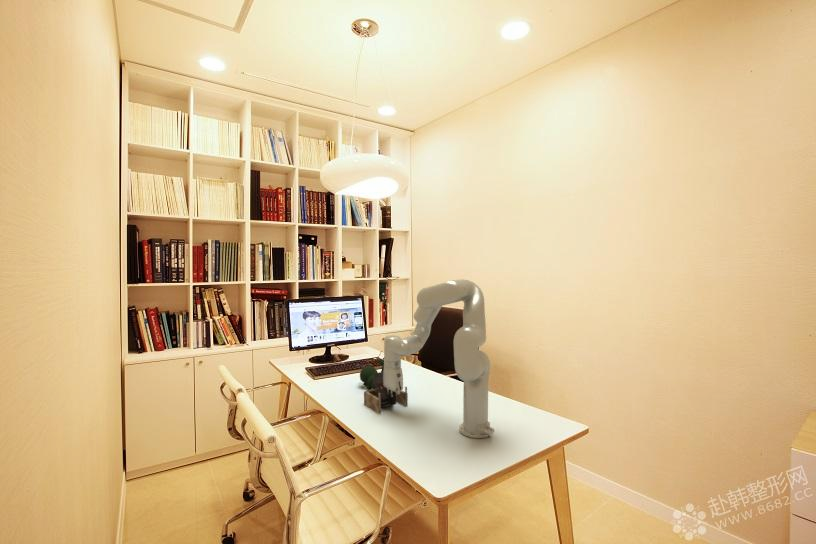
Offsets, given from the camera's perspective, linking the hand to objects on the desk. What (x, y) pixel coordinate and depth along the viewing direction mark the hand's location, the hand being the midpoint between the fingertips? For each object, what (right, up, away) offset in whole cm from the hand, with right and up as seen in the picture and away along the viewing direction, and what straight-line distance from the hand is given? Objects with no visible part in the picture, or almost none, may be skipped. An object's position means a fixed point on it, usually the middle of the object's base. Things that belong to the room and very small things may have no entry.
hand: (392, 404), depth 166 cm
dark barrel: (-3, -2, +4) cm, 5 cm away
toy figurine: (-11, -2, +27) cm, 29 cm away
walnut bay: (-3, -3, +6) cm, 7 cm away
